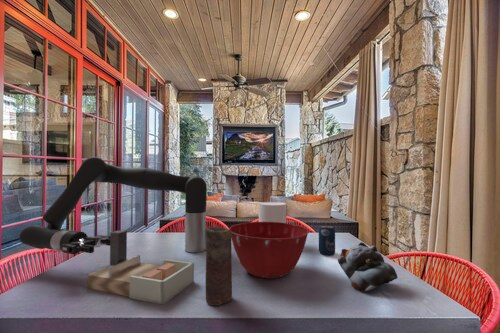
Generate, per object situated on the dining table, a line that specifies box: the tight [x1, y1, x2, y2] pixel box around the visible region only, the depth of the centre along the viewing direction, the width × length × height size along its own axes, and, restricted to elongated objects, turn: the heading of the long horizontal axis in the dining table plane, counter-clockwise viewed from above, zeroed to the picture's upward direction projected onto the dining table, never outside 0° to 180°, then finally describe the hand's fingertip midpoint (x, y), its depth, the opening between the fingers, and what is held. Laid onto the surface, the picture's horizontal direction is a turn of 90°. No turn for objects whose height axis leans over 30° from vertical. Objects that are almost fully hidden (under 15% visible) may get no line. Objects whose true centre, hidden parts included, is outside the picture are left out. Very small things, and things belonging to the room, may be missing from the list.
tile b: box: [142, 270, 162, 280], centre depth 77 cm, size 5×5×3 cm
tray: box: [128, 258, 195, 305], centre depth 79 cm, size 11×16×6 cm
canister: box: [258, 201, 287, 223], centre depth 129 cm, size 14×14×20 cm
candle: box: [205, 226, 233, 306], centre depth 73 cm, size 8×7×20 cm
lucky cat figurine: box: [337, 241, 398, 293], centre depth 84 cm, size 15×12×14 cm
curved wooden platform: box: [86, 262, 162, 297], centre depth 84 cm, size 17×14×4 cm
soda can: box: [318, 224, 336, 257], centre depth 113 cm, size 7×7×12 cm
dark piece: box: [108, 229, 141, 277], centre depth 85 cm, size 5×12×12 cm, turn 161°
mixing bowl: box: [228, 221, 310, 279], centre depth 94 cm, size 28×28×16 cm
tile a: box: [157, 263, 176, 281], centre depth 82 cm, size 5×5×3 cm
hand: (104, 246), depth 87 cm, fingers open, 8 cm apart
